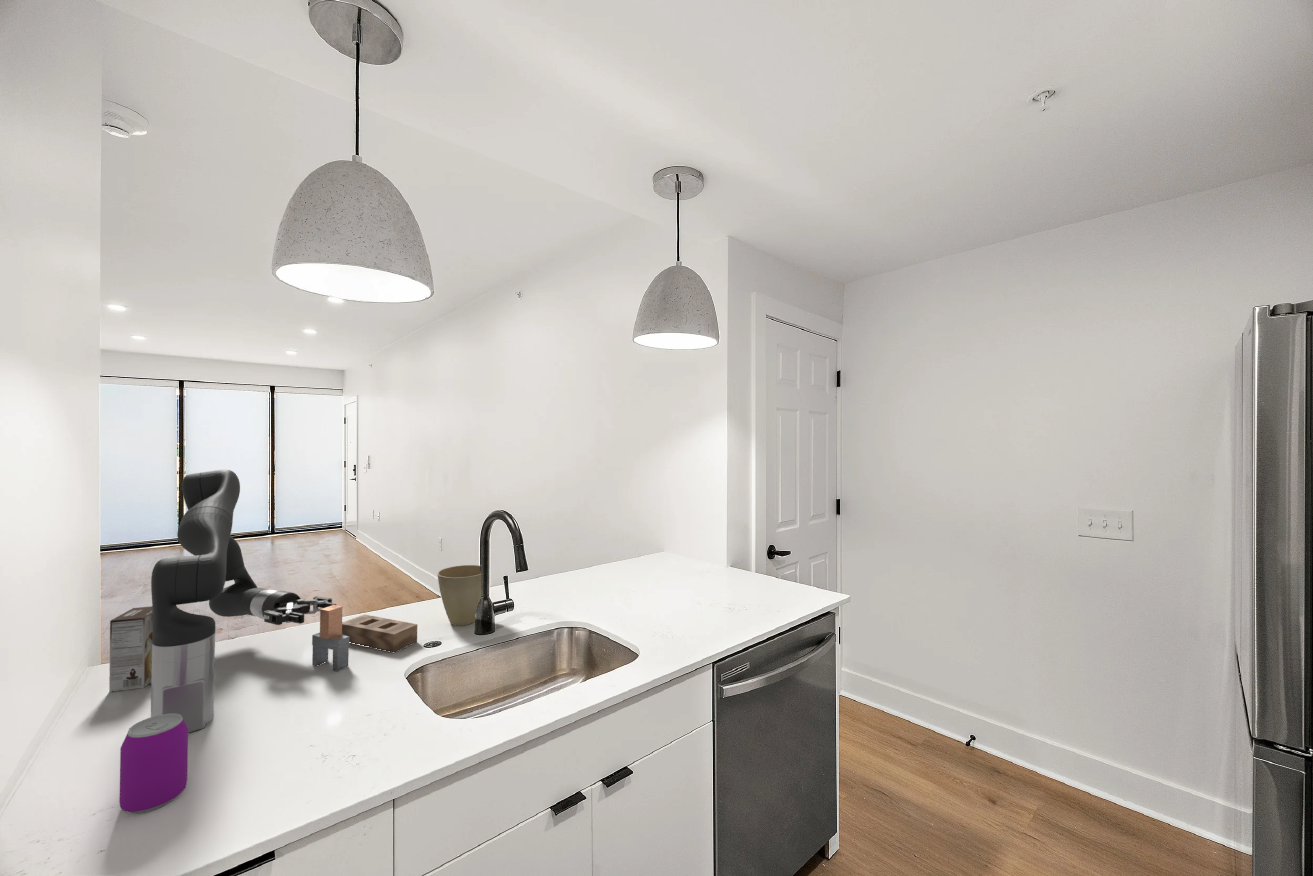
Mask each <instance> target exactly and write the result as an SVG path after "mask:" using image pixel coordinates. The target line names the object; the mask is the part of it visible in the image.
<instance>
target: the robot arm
mask: <svg viewBox="0 0 1313 876" xmlns="http://www.w3.org/2000/svg"><path fill="white" fill-rule="evenodd" d="M240 482H241V481H240V480H239V477H238V475H237V473H235V472H234V471H233V470H230V469H217V470H209V471H204V472H195V473H189V474H187V475H185V476H184V477H183V478H182V482H181V490H182V497H183V499H184V503H185V505H186V508H187V511H186V512H185V513H184V514H183V516H182V518H181V520H180V522H179V527H178V530H177V533H176V535H177V540H178V543H179V545H180V546H181V547H182V548H183V549H184V550H186V551H187V552H188V553H189V554H191V555H186V556H177V557H167V558H161V559H160V560H158V561H157V562H156V563H155V565H154V566H153V568H152V571H151V579H150V584H151V585H150V587H151V588H150V589H151V590H150V591H151V603H152V604H151V606H152V609H153V637H152V676H151V683H150V684H151V685H150V687H151V688H150V691H151V692H150V718H151V717H154V716H158V715H162V714H170V713H177V714H180V715H181V716H182V717H183V720H184V722H185V723H186V725H187V727H188V733H191V732H195V731H199V730H202V729H204V728H205V726H206V725H207V724H208V723H210V722H211V721H212V720H213V719H214V716H215V715H214V712H215V711H214V708H215V659H216V657H215V656H216V654H215V653H216V621H215V619H214V618H213V617H212V616H207V615H204V614H203V615H202V614H195V613H190V612H187V611H184V610H182V609H180V607H178V606H179V605H185V604H194V603H202V602H208V607H209V609H210V611H211V612H213V613H214V614H215V615H217V616H220V617H223V618H225V617H226V618H230V617H240V616H241V617H242V616H252V617H256V618H259V619H262V620H263V621H264V622H265V623H268V624H272V625H276V626H280V625H282V624H283V623H285V624H290V623H296V624H298V625H299V624H300V625H301V624H303V623H305V615H314V614H316V613H318V612H320V609H323V608H326V607H329V606H332V605H337V603H335V602H333V598H332V597H325V596H318V595H317V596H313V598H312V599H305V598H301V597H300V596H299V595H298V594H297V593H296V592H291V591H285V590H279V589H268V588H261V587H258V586H257V584H256V583H255V581H254V580H253V579H252V577H251V575H250V574H249V572H248V570H247V569H246V567H245V562H244V558H243V554H242V549H241V546H240V545H239V542H237V540H236V539H235V538H234V537H233V536H232V528H233V522H234V521H233V520H234V519H233V518H234V511H235V508H236V505H237V503H238V502H239V501H238V500H239V498H240V492H241V483H240ZM231 581H234V583H232V584H230V585H229V586H227V587H226V586H225V584H226V582H231ZM311 606H312V610H311ZM337 606H338V605H337Z"/></svg>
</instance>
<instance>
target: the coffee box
mask: <svg viewBox="0 0 1313 876" xmlns="http://www.w3.org/2000/svg"><path fill="white" fill-rule="evenodd" d="M152 637H153V609H152V605H151V606H144V607H132V608H131V609H129V610H127V611H125V612H123V613H121V614H119V615H118V616H116V617H114V618H113V619H111V620H109V678H108V679H109V683H108V685H109V688H108V690H109V692H110V693H112V691H114V692H120V691H119V690H122V691H128V690H129V691H130V690H136V689H144V688H146V687H148V685H149V684H151V676H152Z"/></svg>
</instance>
